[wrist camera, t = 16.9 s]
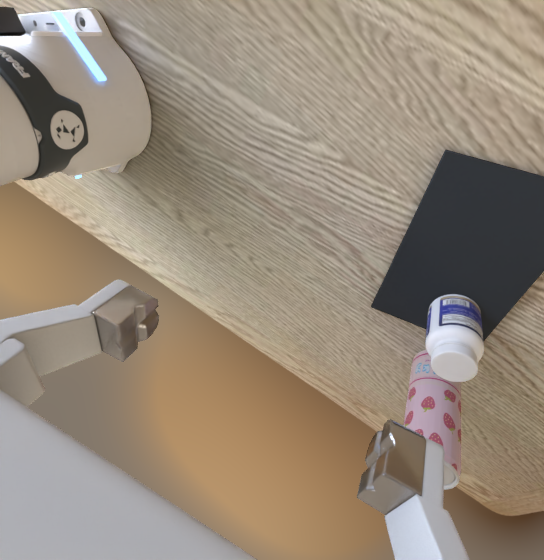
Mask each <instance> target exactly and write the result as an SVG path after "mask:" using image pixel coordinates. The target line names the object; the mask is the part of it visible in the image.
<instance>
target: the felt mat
mask: <svg viewBox="0 0 544 560" xmlns="http://www.w3.org/2000/svg"><path fill="white" fill-rule="evenodd" d="M543 271H544V176H540V175H536V174H533V173H529V172H525V171H522V170H518V169H514V168H511V167H507V166H503V165H500V164H496V163H492V162H489V161H485V160H481V159H478V158H474V157H471V156H467V155H463V154H460V153H456V152H452V151H449V150H445V152H444V154H443V156H442V158H441V161H440V163H439V165H438V167H437V169H436V171H435V173H434V175H433V177H432V179H431V182H430V184H429V186H428V188H427V190H426V192H425V194H424V196H423V198H422V200H421V203H420V205H419V207H418V209H417V211H416V213H415V215H414V217H413V219H412V222H411V224H410V226H409V228H408V230H407V232H406V234H405V236H404V238H403V240H402V243H401V245H400V247H399V249H398V251H397V253H396V255H395V257H394V259H393V261H392V264H391V266H390V268H389V270H388V272H387V274H386V276H385V278H384V280H383V283H382V285H381V287H380V289H379V291H378V293H377V295H376V297H375V299H374V301H373V304H372V306H371V307H372V308H375V309H377V310H380V311H382V312H385V313H387V314H390V315H392V316H395V317H397V318H400V319H402V320H405V321H407V322H410V323H412V324H414V325H417V326H419V327H422V328H424V329H427V319H428V311H429V307H430V305H431V303H432V302H433V301H434V300H435V299H437V298H439V297H441V296H444V295H449V294H457V295H462V296H466V297H468V298H470V299H471V300H473V301H474V302H475V303H476V304H477V305H478V307H479V309H480V312H481V321H482V332H483V341H484V340H485V339H486V338H487V337H488V335H489V334H490V333H491V332H492V331H493V330H494V328H495V327H496V326H497V325H498V324H499V323H500V321H501V320H502V319H503V318H504V317H505V316H506V314H507V313H508V312H509V311H510V310H511V309H512V307H513V306H514V305H515V304H516V303H517V302H518V300H519V299H520V298H521V297H522V296H523V295H524V293H525V292H526V291H527V290H528V289H529V288H530V286H531V285H532V284H533V283H534V282H535V281H536V279H537V278H538V277H539V276H540V275H541V274H542V272H543Z"/></svg>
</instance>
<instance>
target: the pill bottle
mask: <svg viewBox="0 0 544 560" xmlns="http://www.w3.org/2000/svg"><path fill="white" fill-rule="evenodd" d="M425 345H426V350H427V352H428V354H429V355H430V356H431V367H432V370H433V371H434V372H435V373H436V374H437V375H438V376H439V377H441V378H443V379H445V380H448V381H453V382H464V381H468V380H471V379H472V378H474V377H475V376H476V374H477V372H478V361H479V360H480V359H481V357H482V356H483V353H484V341H483V332H482V321H481V312H480V309H479V307H478V305H477V304H476V303H475V302H474V301H473V300H471V299H470V298H468V297H466V296H462V295H457V294H449V295H444V296H441V297H439V298H437V299H435V300H434V301H433V302H432V303H431V305H430V307H429V311H428V319H427V329H426V340H425Z"/></svg>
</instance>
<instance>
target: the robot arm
mask: <svg viewBox="0 0 544 560" xmlns="http://www.w3.org/2000/svg"><path fill="white" fill-rule="evenodd" d="M150 133H151V109H150V103H149V99H148V95H147V92H146V89H145V86H144V84H143V81H142V79H141V77H140V75H139V73H138V71H137V69H136V68H135V66H134V64H133V63H132V61H131V60H130V58H129V57H128V56H127V55H126V53H125V52H124V51H123V50H122V49H121V48H120V46H119V45H118V44H117V43H116V42H115V40H114V39H113V37H112V36H111V33H110V31H109V29H108V27H107V25H106V23H105V21H104V20H103V18H102V16H101V14H100V13H99V12H98V11H97V10H96V9H95V8H80V9H70V10H60V11H49V12H39V13H29V14H19V15H17V13H16V11H15V10H14V8H11V7H0V186H2V185H5V184H8V183H10V182H13V181H16V180H19V179H24V180H34V179H37V178H45V177H48V176H51V175H53V174H54V173H57V172H62V173H64V174H67V175H68V176H71V177H72V176H75V178H76V179H78V178H81V175H82V174H86V173H90V172H94V171H98V170H102V169H107V170H108V171H110V172H112V173H120V172H122V171H123V170H124V168H125V167H126V165H127V162H128V161H129V160H130V159H132V158H134V157H136V156H138V155H139V154H140V153H141V152H142V151H143V150H144V149H145V147H146V145H147V143H148V141H149V138H150ZM157 307H158V300H157V299H156V298H154V297H152V296H150V295H148V294H147V293H145V292H143V291H141V290H139V289H137V288H135V287H133V286H132V285H130V284H128V283H126V282H124V281H122V280H120V279H119V280H115V281H113V282H112V283H110V284H109V285H107V286H106V287H105V288H103V289H102V290H100V291H99V292H97V293H96V294H94V295H93V296H92V297H90V298H89V299H87V300H86V301H84V302H83V303H81V304H80V305H79V306H77V305H75V304H73V305H68V306H63V307H59V308H54V309H49V310H45V311H40V312H36V313H30V314H26V315H21V316H16V317H12V318H7V319H2V320H0V560H257V559H256V558H254V557H253V556H251V555H250V554H248V553H246V552H245V551H244V550H242V549H240V548H239V547H238V546H236V545H234V544H233V543H232V542H230V541H229V540H227V539H226V538H224V537H222V536H221V535H219V534H218V533H216V532H215V531H213V530H212V529H210V528H209V527H207V526H206V525H204V524H203V523H201V522H200V521H198V520H197V519H195V518H194V517H192V516H191V515H189V514H188V513H186V512H185V511H183V510H182V509H180V508H179V507H177V506H176V505H174V504H173V503H171V502H169V501H168V500H166V499H165V498H164V497H162V496H161V495H159V494H157V493H156V492H154V491H153V490H151V489H150V488H148V487H147V486H145V485H144V484H142V483H141V482H139V481H138V480H136V479H135V478H133V477H132V476H130V475H129V474H127V473H126V472H124V471H123V470H121V469H120V468H118V467H117V466H115V465H114V464H112V463H111V462H109V461H108V460H106V459H105V458H103V457H101V456H100V455H98V454H97V453H96V452H94V451H92V450H91V449H89V448H88V447H86V446H85V445H83V444H82V443H80V442H79V441H77V440H76V439H74V438H73V437H71V436H70V435H68V434H67V433H65V432H64V431H62V430H61V429H59V428H58V427H56V426H55V425H53V424H52V423H50V422H49V421H47V420H46V419H44V418H42V417H41V416H40V415H38V414H36V413H35V412H33V411H32V410H31V409H29V408H28V406H29V405H30V404H31V403H33V402H34V401H35V400H36V399H37V398H38V397H39V396H41V395H42V394H43V393H44V390H45V387H44V386H43V383H42V381H41V379H40V376H42V375H45V374H48V373H50V372H53V371H56V370H58V369H61V368H63V367H66V366H68V365H71V364H74V363H76V362H79V361H81V360H84V359H87V358H89V357H92V356H94V355H97V354H99V353H102V351H103V352H105V353H107V354H109V355H111V356H112V357H115V358H116V359H118V360H120V361H122V362H124V361H125V360H126V359H127V358H128V357H129V356H130V355H131V354H132V353H133V352H134V351H135V350H136V349H137V347H138V342H139V341H143V340H146V339H148V338H149V337H150V336H151V335H152V334H153V332H154V330H155V329H156V327H157V325H158V321H159V315H158V313H157V312H156V310H155V309H156V308H157ZM444 456H445V451H444V448H443V446H442V445H440V444H438V443H436V442H434V441H432V440H430V439H428V438H426V437H424V436H423V435H421V434H419V433H417V432H415V431H413V430H411V429H409V428H407V427H405V426H403V425H401V424H399V423H397V422H395V421H393V420H391V419H390V420H387V422H386V423H385V424H384V427H383V431H378V432H377V433H376V434H375V435H374V437H373V438H372V440H371V442H370V444H369V447H368V450H367V455H366V458H365V461H366V464H367V466H368V469H367V470H366V471H365V472H364V473H363V474H362V476H361V481H360V485H359V491H358V495H357V498H358V499H360V500H362V501H363V502H365V503H367V504H368V505H370V506H371V507H373V508H375V509H376V510H378V511H380V512H381V513H383V514H385V516H384V517H385V521H386V525H387V529H388V533H389V537H390V541H391V545H392V549H393V553H394V557H395V560H470V559H469V557H468V554H467V552H466V550H465V548H464V546H463V543H462V541H461V539H460V536H459V534H458V532H457V530H456V527H455V525H454V523H453V521H452V519H451V516H450V514H449V512H448V511H446V510H445V509H443V492H444Z"/></svg>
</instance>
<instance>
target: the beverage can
mask: <svg viewBox="0 0 544 560" xmlns="http://www.w3.org/2000/svg"><path fill="white" fill-rule="evenodd" d="M404 426H405V427H407V428H409V429H411V430H413V431H415V432H417V433H419V434H421V435H423V436H424V437H426V438H428V439H430V440H432V441H434V442H436V443H438V444H440V445H442V446H443V448H444V451H445V456H444V489H451V488H453V487H455V486H456V485H457V484H458V483H459V480H460V479H459V476H460V474H461V382H453V381H448V380H445V379H443V378H441V377H439V376H438V375H437V374H436V373H435V372H434V371H433V370H432V367H431V356H430V355H429V354H428V352H427V350H423V351H421V352H419V353H417V354H416V355H415V356H414V358H413V361H412V368H411V376H410V383H409V390H408V397H407V404H406V412H405V419H404Z"/></svg>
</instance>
